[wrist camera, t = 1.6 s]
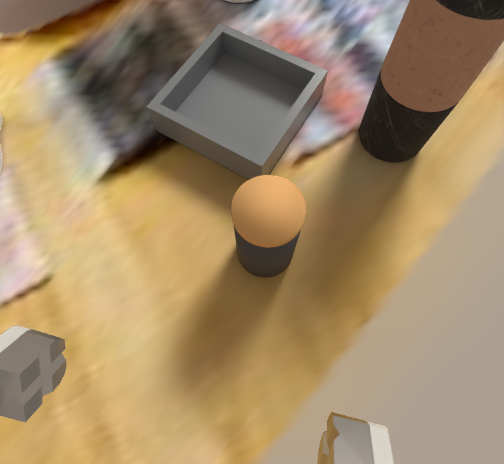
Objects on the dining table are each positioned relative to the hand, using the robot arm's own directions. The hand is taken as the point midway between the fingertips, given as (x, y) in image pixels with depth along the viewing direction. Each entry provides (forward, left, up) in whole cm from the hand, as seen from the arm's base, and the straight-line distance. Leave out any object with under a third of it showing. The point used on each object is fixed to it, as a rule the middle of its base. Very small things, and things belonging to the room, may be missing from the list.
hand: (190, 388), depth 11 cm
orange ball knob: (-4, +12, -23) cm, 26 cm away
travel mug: (+1, +31, -23) cm, 39 cm away
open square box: (-15, +25, -23) cm, 37 cm away
